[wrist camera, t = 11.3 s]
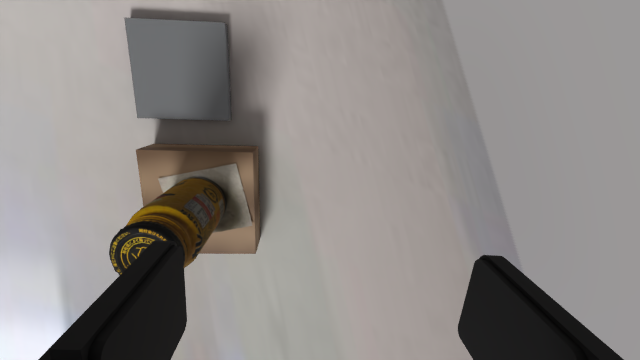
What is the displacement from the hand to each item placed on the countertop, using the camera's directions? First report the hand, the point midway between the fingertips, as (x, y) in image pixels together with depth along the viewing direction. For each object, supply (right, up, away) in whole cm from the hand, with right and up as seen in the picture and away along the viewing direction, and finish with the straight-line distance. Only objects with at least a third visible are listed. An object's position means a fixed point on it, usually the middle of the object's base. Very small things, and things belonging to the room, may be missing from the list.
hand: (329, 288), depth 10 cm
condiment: (-13, +1, +24) cm, 27 cm away
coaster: (-15, +15, +24) cm, 32 cm away
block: (-14, +2, +28) cm, 31 cm away
